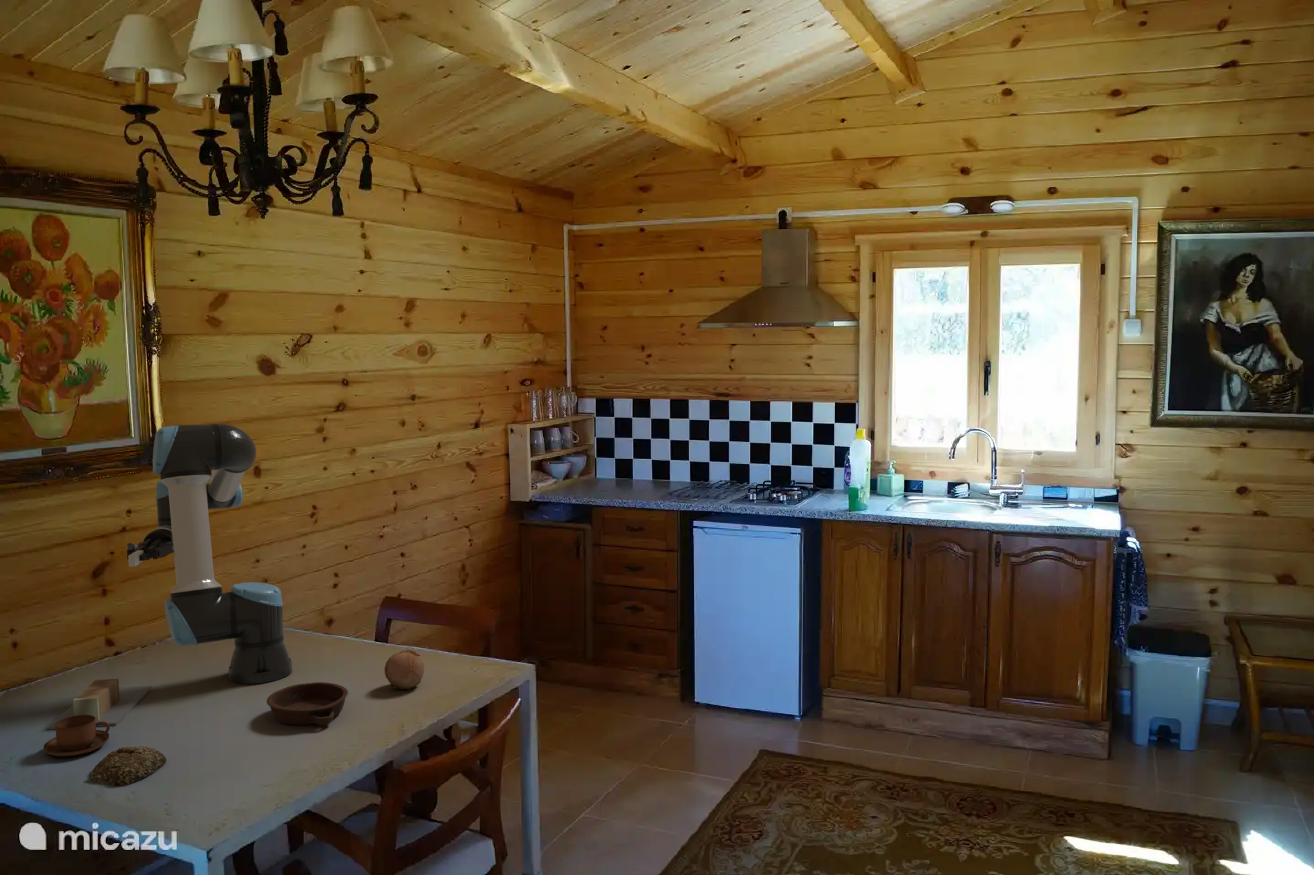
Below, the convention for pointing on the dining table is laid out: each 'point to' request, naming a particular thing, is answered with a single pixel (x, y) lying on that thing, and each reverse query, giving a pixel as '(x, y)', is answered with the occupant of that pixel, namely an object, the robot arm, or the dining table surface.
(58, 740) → the cup and saucer
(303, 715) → the dish
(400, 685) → the onion
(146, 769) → the bread roll
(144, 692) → the rubber mat
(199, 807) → the dining table surface
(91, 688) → the walnut block
